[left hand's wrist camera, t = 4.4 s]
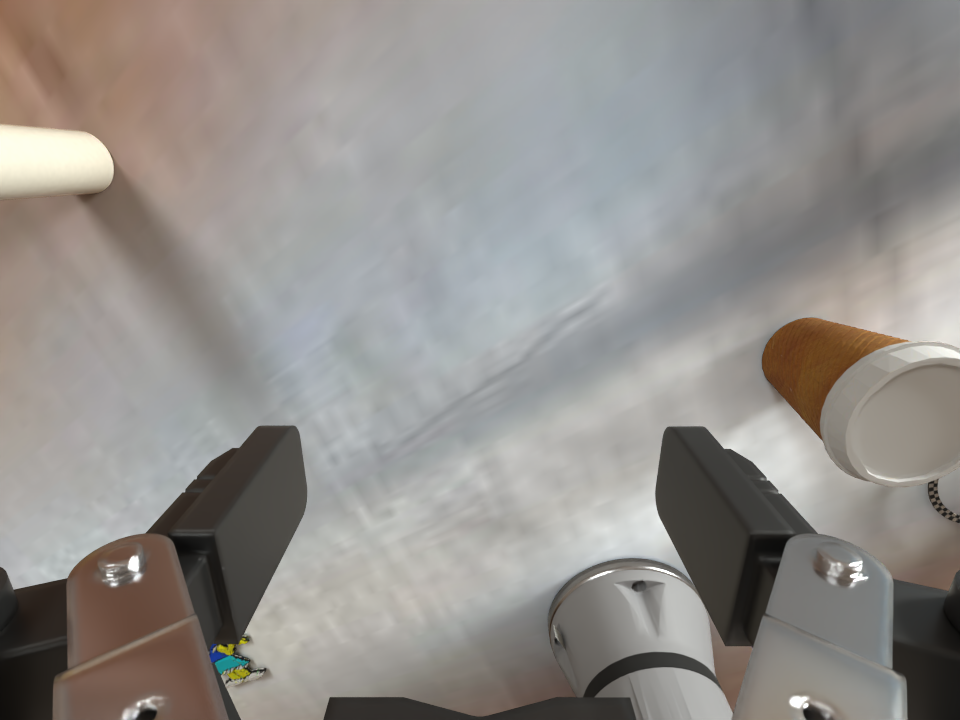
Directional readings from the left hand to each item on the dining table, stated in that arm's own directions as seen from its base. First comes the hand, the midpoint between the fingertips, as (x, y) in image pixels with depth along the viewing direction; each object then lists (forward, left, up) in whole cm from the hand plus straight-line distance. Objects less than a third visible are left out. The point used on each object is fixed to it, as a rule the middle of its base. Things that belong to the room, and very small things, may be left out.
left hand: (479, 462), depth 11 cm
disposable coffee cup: (+8, +26, -29) cm, 40 cm away
